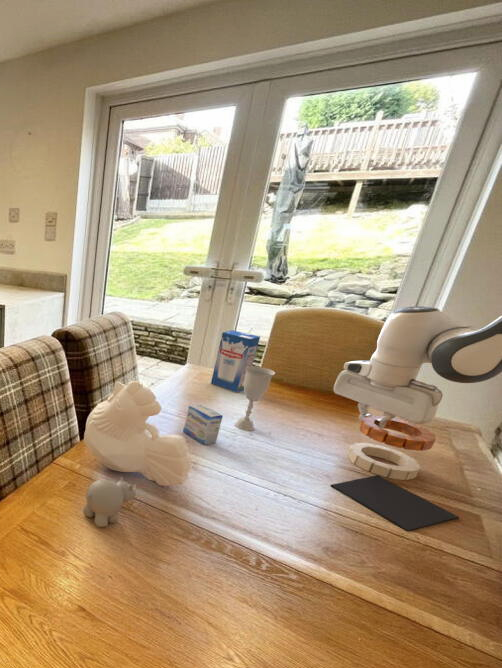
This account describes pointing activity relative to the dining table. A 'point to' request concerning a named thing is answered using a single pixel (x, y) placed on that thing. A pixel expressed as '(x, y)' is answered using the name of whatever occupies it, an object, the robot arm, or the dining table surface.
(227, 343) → the milk carton
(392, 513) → the mat
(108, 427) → the decorative rooster
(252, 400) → the chalice
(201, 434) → the medicine box
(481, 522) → the dining table surface
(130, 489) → the toy rhinoceros
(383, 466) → the bottom ring
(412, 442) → the top ring
